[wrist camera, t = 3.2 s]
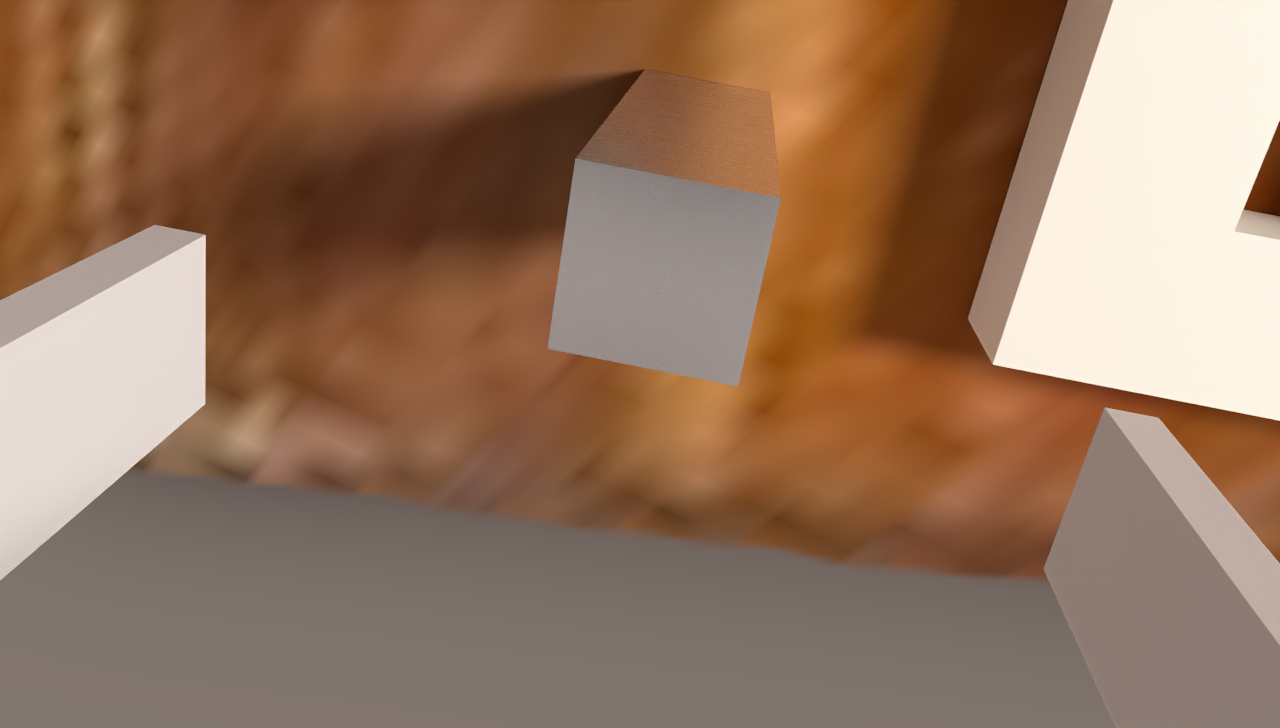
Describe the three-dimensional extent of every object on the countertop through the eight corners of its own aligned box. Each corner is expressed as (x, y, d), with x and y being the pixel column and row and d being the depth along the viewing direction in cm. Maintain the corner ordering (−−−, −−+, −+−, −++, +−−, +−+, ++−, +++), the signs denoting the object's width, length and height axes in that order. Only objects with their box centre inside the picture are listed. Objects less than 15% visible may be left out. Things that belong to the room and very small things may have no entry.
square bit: (624, 192, 35) (547, 348, 22) (645, 69, 33) (575, 158, 20) (743, 215, 34) (737, 385, 22) (770, 93, 33) (781, 197, 20)
